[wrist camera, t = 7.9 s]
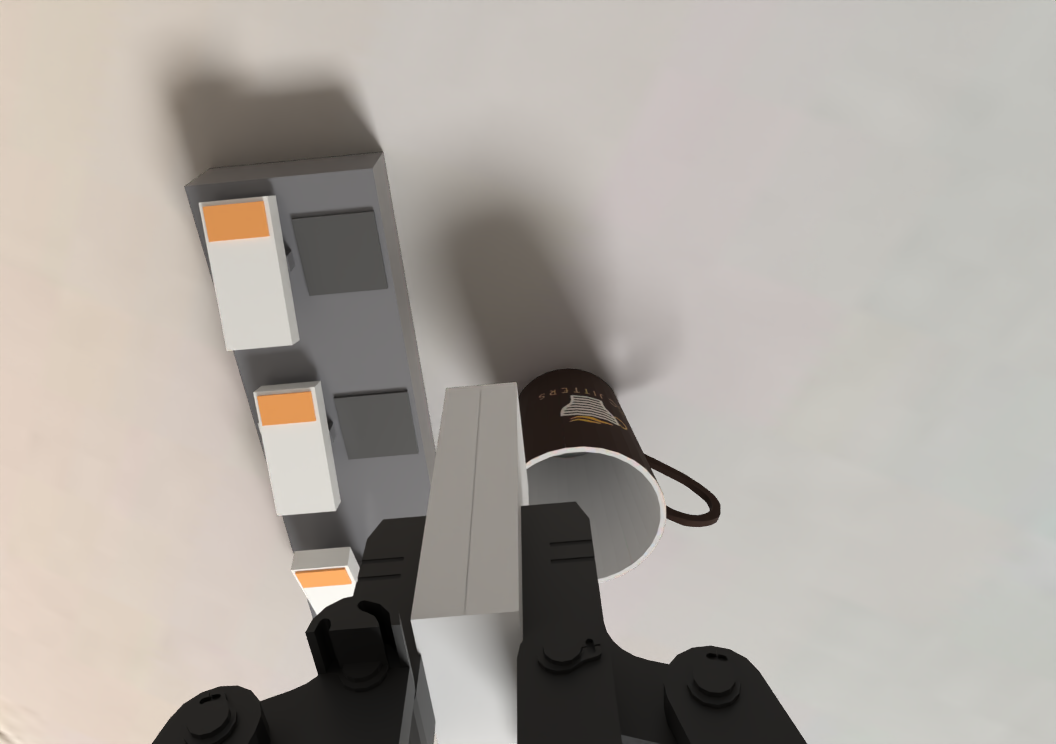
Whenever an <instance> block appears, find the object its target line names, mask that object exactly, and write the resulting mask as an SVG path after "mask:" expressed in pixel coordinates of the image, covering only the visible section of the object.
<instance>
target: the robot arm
mask: <svg viewBox="0 0 1056 744" xmlns="http://www.w3.org/2000/svg"><path fill="white" fill-rule="evenodd" d="M357 578H358V582H356V585H355V589H354V593H353V596H351V597H347V598H343V599H341V600H339V601H337V602H335V603H333V604H331V605H329V606H327V607H325V608H324V609H323V610H322V611H321V612H320V613H319V614H318V615H317V616H315V617H314V618H313V620H312V621H311V623H310V625H309V627H308V629H307V631H306V632H305V633H306V636H307V640H308V643H309V646H310V649H311V653H312V656H313V659H314V662H315V666H316V669H317V672H318V676H317V677H316V678H314V679H313V680H311V681H310V682H308V683H307V684H305V685H302V686H300V687H298V688H296V689H293V690H291V691H288V692H285V693H283V694H280V695H277V696H274V697H271V698H268V699H265V700H263V701H259V699H258V698H257V697H256V696H255V695H254V693H253V692H252V691H251V690H248V689H245V688H243V687H240V686H220V687H217V688H214V689H211V690H208V691H205V692H202V693H200V694H199V695H197V696H195V697H194V698H192V699H191V700H189V701H188V702H186V703H185V704H183V705H182V706H181V707H180V708H179V709H178V710H177V712H176V713H175V714H174V715H173V716H172V717H171V718H170V719H169V720H168V722H167V723H166V725H165V726H164V727H163V729H162V730H161V732H160V733H159V734H158V736H157V737H156V739H155V740H154V741H153V743H152V744H433V743H434V734H436V739H437V743H438V744H807V743H806V741H805V740H804V738H803V737H802V735H801V734H800V732H799V731H798V729H797V728H796V726H795V725H794V723H793V722H792V720H791V719H790V717H789V716H788V714H787V713H786V711H785V710H784V708H783V707H782V705H781V704H780V702H779V701H778V699H777V698H776V696H775V695H774V693H773V692H772V690H771V688H770V687H769V685H768V684H767V682H766V681H765V679H764V678H763V676H762V675H761V673H760V672H759V671H758V670H757V669H756V668H755V666H754V665H753V664H752V663H751V662H750V661H749V660H748V659H747V658H745V657H743V656H741V655H739V654H738V653H736V652H734V651H732V650H730V649H725V648H720V647H715V646H704V647H695V648H691V649H689V650H687V651H685V652H683V653H680V654H678V655H677V656H676V657H675V658H674V659H673V661H672V662H671V663H670V664H665V663H660V662H655V661H650V660H646V659H643V658H639V657H636V656H634V655H632V654H630V653H628V652H626V651H624V650H623V649H621V648H620V647H619V646H618V645H617V644H616V643H615V642H613V640H612V639H611V637H610V636H609V634H608V633H607V631H606V628H605V624H604V621H603V613H602V606H601V599H600V591H599V584H598V577H597V570H596V562H595V555H594V548H593V541H592V533H591V526H590V519H589V517H588V516H587V515H586V514H585V512H584V511H583V510H582V509H581V507H580V506H579V505H578V504H577V502H576V501H574V502H562V503H550V504H538V505H529V496H528V480H527V471H526V462H525V453H524V444H523V435H522V426H521V417H520V408H519V399H518V390H517V382H511V383H499V384H488V385H477V386H465V387H454V388H446V392H445V399H444V405H443V412H442V418H441V425H440V431H439V438H438V444H437V451H436V457H435V464H434V470H433V477H432V483H431V490H430V496H429V503H428V509H427V516H417V517H405V518H393V519H383V520H382V521H381V522H380V524H379V525H378V526H377V527H376V529H375V530H374V531H373V532H372V534H371V535H370V536H369V537H368V538H367V541H366V545H365V549H364V553H363V557H362V564H361V565H360V569H359V573H358V577H357Z"/></svg>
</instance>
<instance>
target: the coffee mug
mask: <svg viewBox="0 0 1056 744" xmlns="http://www.w3.org/2000/svg"><path fill="white" fill-rule="evenodd" d="M518 399H519V408H520V417H521V426H522V435H523V444H524V453H525V462H526V471H527V480H528V496H529V505H538V504H550V503H562V502H574V501H576V502H577V504H578V505H579V506H580V507H581V509H582V510H583V511H584V512H585V514H586V515H587V516H588V517H589V519H590V526H591V533H592V541H593V548H594V555H595V562H596V570H597V577H598V583H602V582H607V581H609V580H612V579H615V578H617V577H620V576H622V575H624V574H626V573H627V572H629V571H631V570H632V569H634V568H636V567H637V566H638V565H639V564H640V563H642V562H643V561H644V560H645V559H646V558H647V557H648V556H649V555H650V554H651V552H652V551H653V550H654V549H655V547H656V546H657V544H658V542H659V540H660V538H661V536H662V534H663V531H664V527H665V523H666V518H667V519H669V520H671V521H674V522H676V523H679V524H681V525H684V526H690V527H704V526H709V525H712V524H714V523H716V522H717V520H718V518H719V516H720V503H719V501H718V500H717V498H716V497H715V496H714V495H713V494H712V493H711V492H710V491H708V490H707V489H706V488H705V487H703V486H702V485H701V484H699V483H698V482H696V481H695V480H693V479H691V478H690V477H688V476H687V475H685V474H683V473H681V472H680V471H678V470H676V469H674V468H672V467H670V466H668V465H666V464H664V463H662V462H660V461H658V460H656V459H654V458H652V457H650V456H647V455H646V454H644V453H643V451H642V449H641V447H640V445H639V443H638V441H637V439H636V437H635V435H634V433H633V431H632V429H631V427H630V425H629V423H628V421H627V419H626V416H625V414H624V412H623V410H622V408H621V406H620V404H619V402H618V400H617V398H616V396H615V394H614V392H613V390H612V389H611V388H610V387H609V386H608V384H607V383H606V382H604V381H603V380H602V379H600V378H599V377H597V376H595V375H593V374H591V373H589V372H586V371H582V370H577V369H560V370H555V371H551V372H548V373H545V374H543V375H541V376H539V377H537V378H536V379H534V380H533V381H532V382H530V383H529V384H528V385H527V386H526V387H525V388H524V389H523V391H522V393H521V394H520V396H519V397H518ZM651 468H652V469H654V470H657V471H659V472H661V473H663V474H664V475H666V476H668V477H670V478H672V479H674V480H676V481H678V482H680V483H682V484H684V485H685V486H687V487H688V488H690V489H691V490H692V491H693V492H695V493H696V494H697V495H699V496H700V497H701V498H702V499H703V500H705V502H706V503H707V504H708V506H709V508H710V511H709V512H708V513H706V514H702V515H689V514H685V513H682V512H679V511H676V510H673V509H671V508H670V507H668V506H666V504H665V500H664V496H663V492H662V490H661V488H660V486H659V484H658V482H657V480H656V478H655V476H654V474H653V472H652V470H651Z"/></svg>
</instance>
